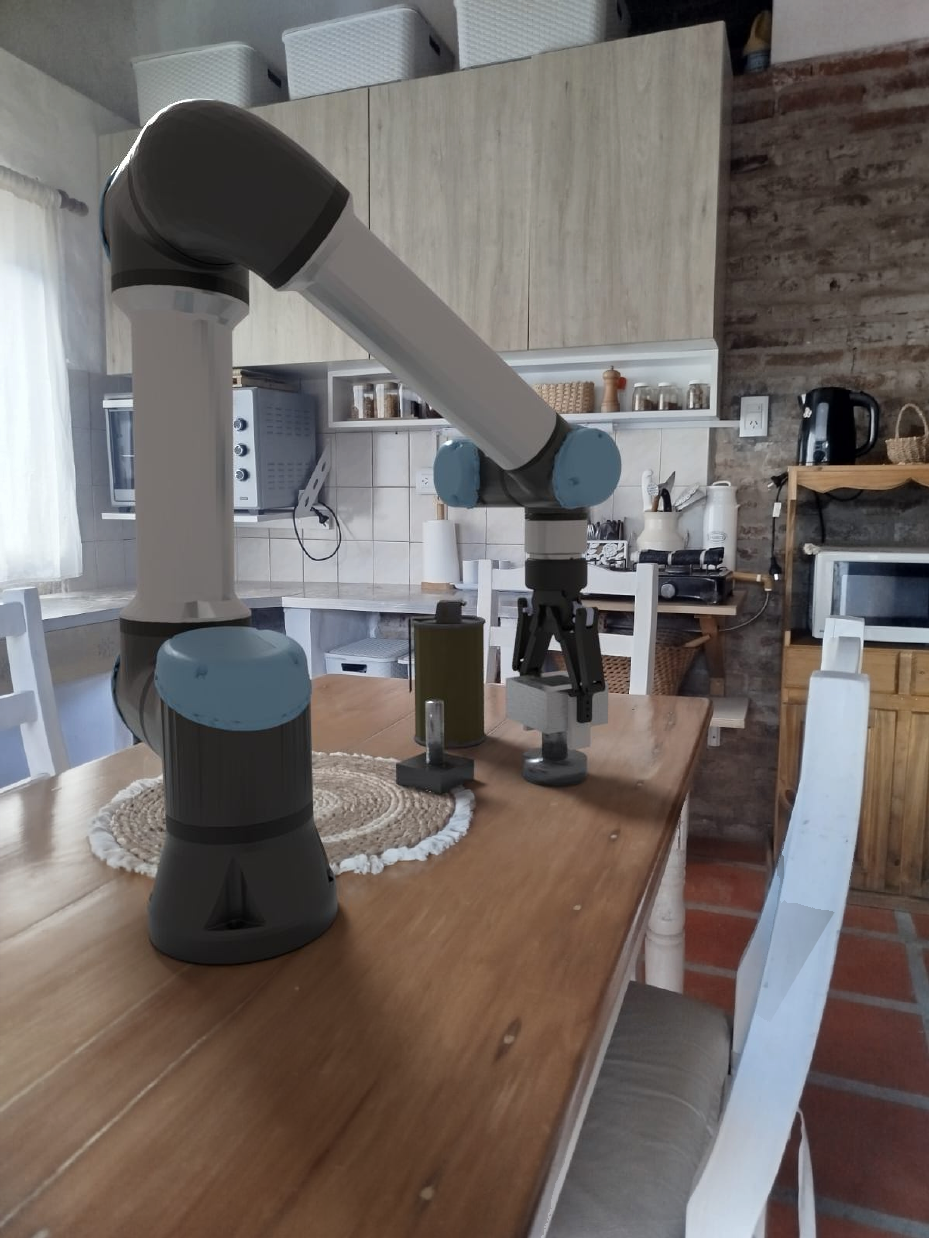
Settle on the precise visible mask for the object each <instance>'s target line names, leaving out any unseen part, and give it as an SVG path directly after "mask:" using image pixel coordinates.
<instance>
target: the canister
mask: <svg viewBox="0 0 929 1238" xmlns="http://www.w3.org/2000/svg"><path fill="white" fill-rule="evenodd" d="M467 605H468V602H467V601H466V600H465V601H464V600H462V599H460V600H457V599H456V600H455V599H441V600H439V601H438V602H437V603H436V607H435V608H436V609H435V614H434V615H424V616H421V615H419V616H418V615H417V616H413V615H412V616H411V617H410V618H408V621H407V625H408V627H407V628H408V629H407V630H408V674H409V675H408V682H409V683H408V684H409V688H408V689H409V694H411V692H412V691H413V681H412V680H413V679H412V677H413V675H412V670H413V669H414V725H415V726H414V732H415V733H414V735H413V740H414V741H415V742H416V743H417V744H419V745H421V746H424V747H426V708H425V701H427V700H431V699H439V700H443V701H444V749H461V748H469V747H473V746H476V745H480V744H481V743H483V742H484V741H485V740H486V738H487V734H486V733H485V667H484V666H485V663H484V662H485V655H484V654H485V651H484V650H485V645H484V643H485V641H484V640H485V639H484V638H485V635H484V633H485V632H484V631H485V630H484V629H485V627H484V626H485V624H486V623H487V622H486V618H483V617H482V616H475V615H469V614H468V615H467V614H463V611H462V610H463V609H462V607H466V606H467ZM411 619H412V620H411ZM411 625H413V648H414V649H413V654H414V655H413V656H414V661H413V662H414V663H413V664H414V667H413V669H412V626H411Z"/></svg>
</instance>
